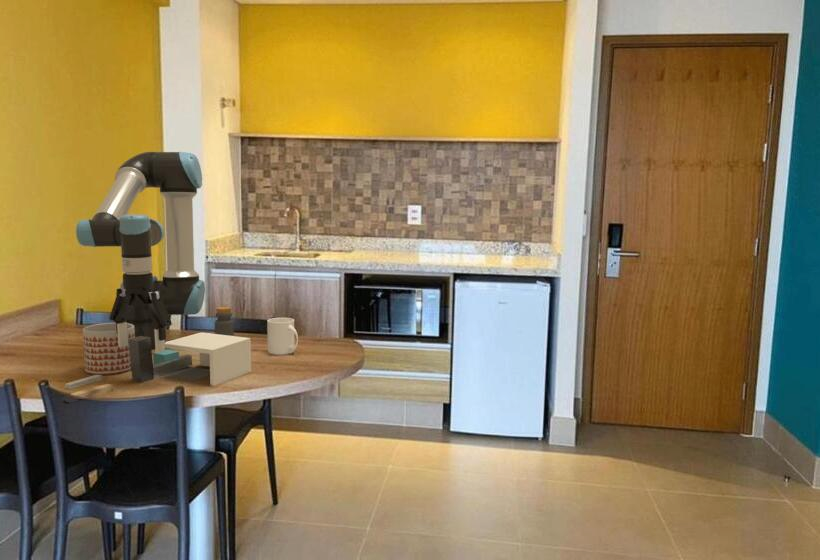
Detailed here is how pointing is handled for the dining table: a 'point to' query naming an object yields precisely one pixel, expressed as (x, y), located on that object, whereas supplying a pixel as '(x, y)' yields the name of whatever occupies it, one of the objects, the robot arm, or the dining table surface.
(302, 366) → the dining table surface
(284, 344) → the mug
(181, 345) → the cubby
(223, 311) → the bottle
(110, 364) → the planter
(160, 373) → the dark grey l-shaped block
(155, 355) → the block
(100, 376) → the grey stick
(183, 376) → the mat
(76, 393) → the oak batten
